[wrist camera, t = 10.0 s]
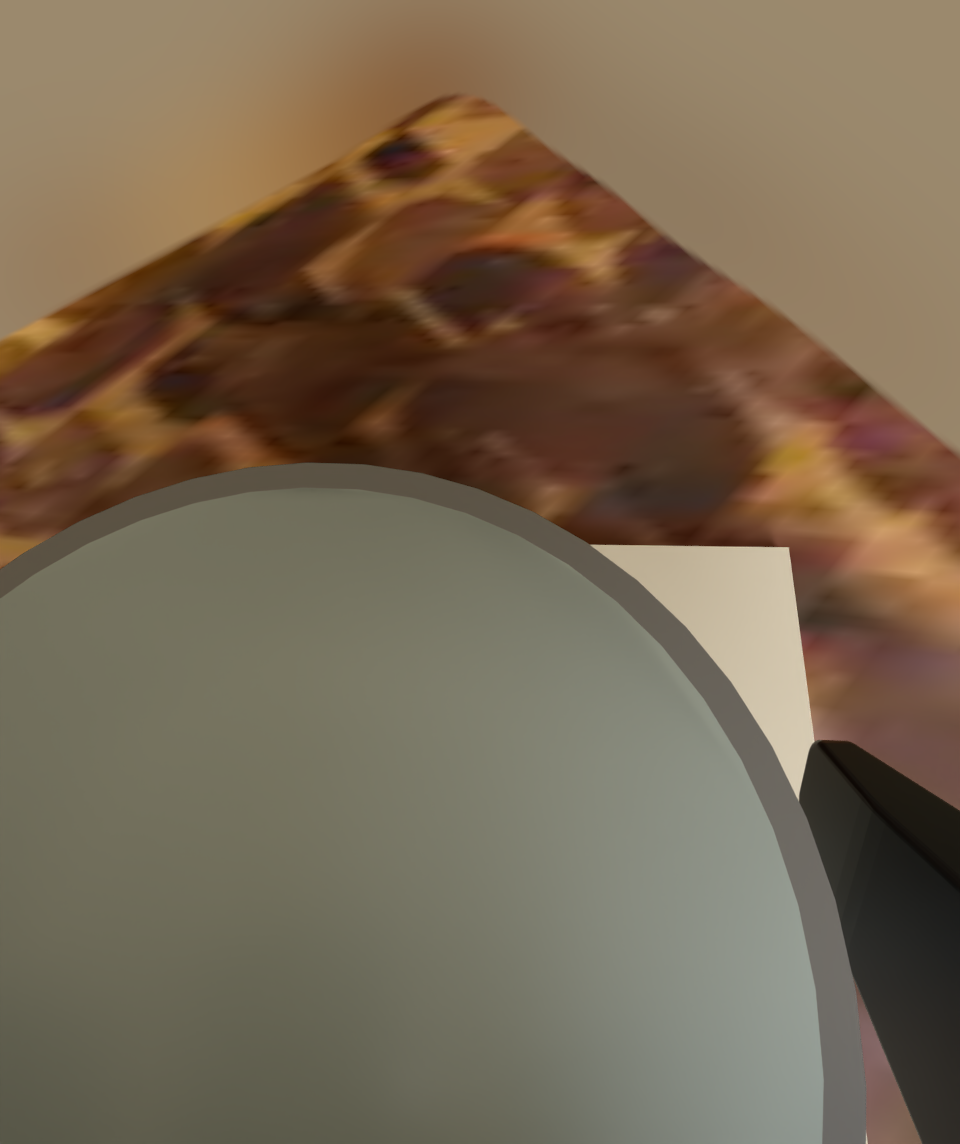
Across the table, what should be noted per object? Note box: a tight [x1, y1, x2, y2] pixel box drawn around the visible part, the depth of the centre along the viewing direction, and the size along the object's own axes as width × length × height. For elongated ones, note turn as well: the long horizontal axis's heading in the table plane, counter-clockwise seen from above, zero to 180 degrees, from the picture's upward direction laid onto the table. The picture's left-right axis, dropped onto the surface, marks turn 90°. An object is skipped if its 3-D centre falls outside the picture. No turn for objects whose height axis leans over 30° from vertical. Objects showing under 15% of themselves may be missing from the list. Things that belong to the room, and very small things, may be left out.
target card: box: [591, 545, 868, 1144], centre depth 16 cm, size 16×16×1 cm
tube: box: [0, 463, 866, 1144], centre depth 9 cm, size 5×5×14 cm
